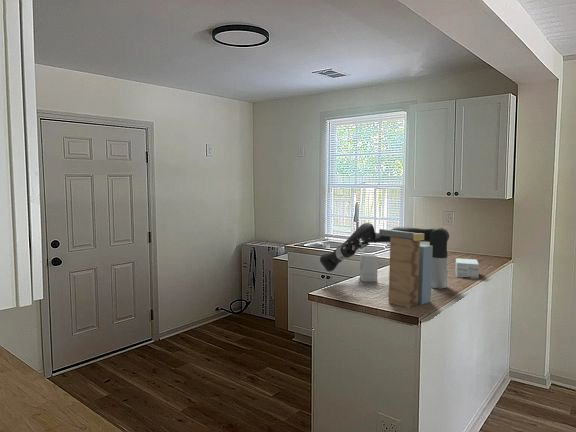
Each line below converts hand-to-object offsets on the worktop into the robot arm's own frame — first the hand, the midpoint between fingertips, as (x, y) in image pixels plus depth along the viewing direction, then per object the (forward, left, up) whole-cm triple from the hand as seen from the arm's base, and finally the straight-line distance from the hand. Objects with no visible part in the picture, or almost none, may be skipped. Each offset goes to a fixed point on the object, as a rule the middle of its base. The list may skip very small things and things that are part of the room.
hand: (364, 240), depth 229 cm
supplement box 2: (-87, +7, -28) cm, 92 cm away
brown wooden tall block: (0, +27, -28) cm, 39 cm away
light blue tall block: (-10, +27, -28) cm, 40 cm away
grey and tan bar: (0, +23, +4) cm, 23 cm away
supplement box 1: (-23, -18, -28) cm, 41 cm away
